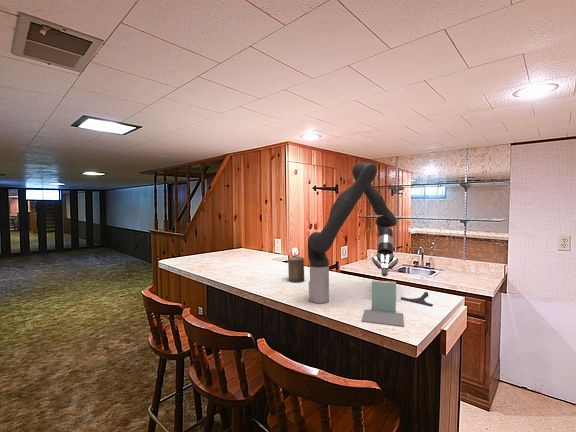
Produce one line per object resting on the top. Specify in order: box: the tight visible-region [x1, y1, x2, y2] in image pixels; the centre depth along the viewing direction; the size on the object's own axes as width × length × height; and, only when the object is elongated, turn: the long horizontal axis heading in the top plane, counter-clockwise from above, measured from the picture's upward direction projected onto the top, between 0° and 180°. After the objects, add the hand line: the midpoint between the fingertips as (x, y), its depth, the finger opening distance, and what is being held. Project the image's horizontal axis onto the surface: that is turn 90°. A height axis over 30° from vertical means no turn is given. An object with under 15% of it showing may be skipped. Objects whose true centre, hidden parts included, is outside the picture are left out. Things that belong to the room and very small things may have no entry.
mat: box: [361, 309, 405, 328], centre depth 124 cm, size 16×13×1 cm
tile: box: [371, 279, 397, 313], centre depth 132 cm, size 10×2×13 cm, turn 70°
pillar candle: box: [287, 256, 305, 283], centre depth 183 cm, size 10×10×15 cm
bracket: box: [400, 291, 434, 308], centre depth 147 cm, size 14×15×3 cm
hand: (384, 275), depth 142 cm, fingers closed
